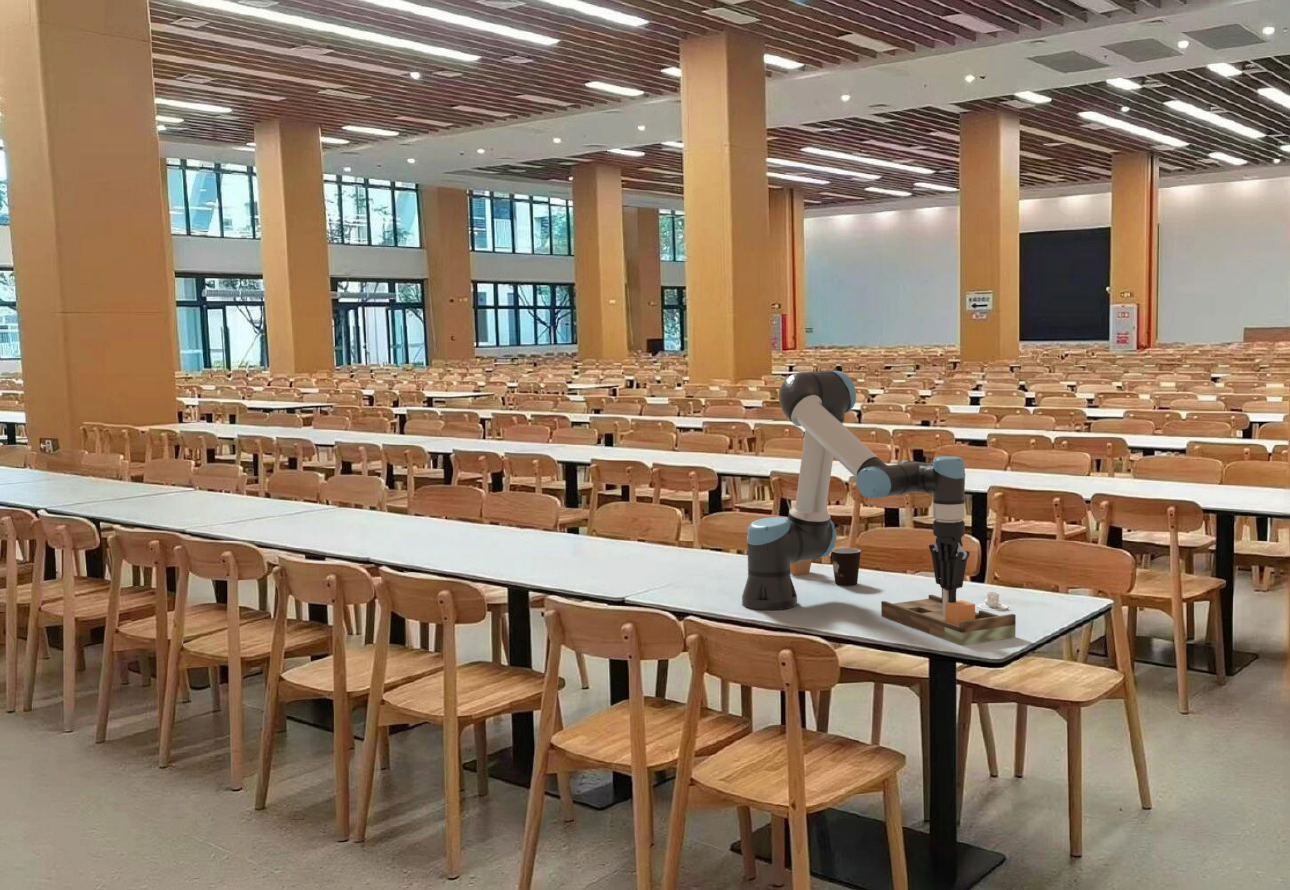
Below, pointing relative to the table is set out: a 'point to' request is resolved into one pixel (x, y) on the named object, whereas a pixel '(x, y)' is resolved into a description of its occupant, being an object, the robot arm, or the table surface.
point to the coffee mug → (845, 565)
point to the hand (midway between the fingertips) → (948, 614)
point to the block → (959, 612)
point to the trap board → (932, 621)
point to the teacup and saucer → (992, 601)
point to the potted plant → (799, 563)
